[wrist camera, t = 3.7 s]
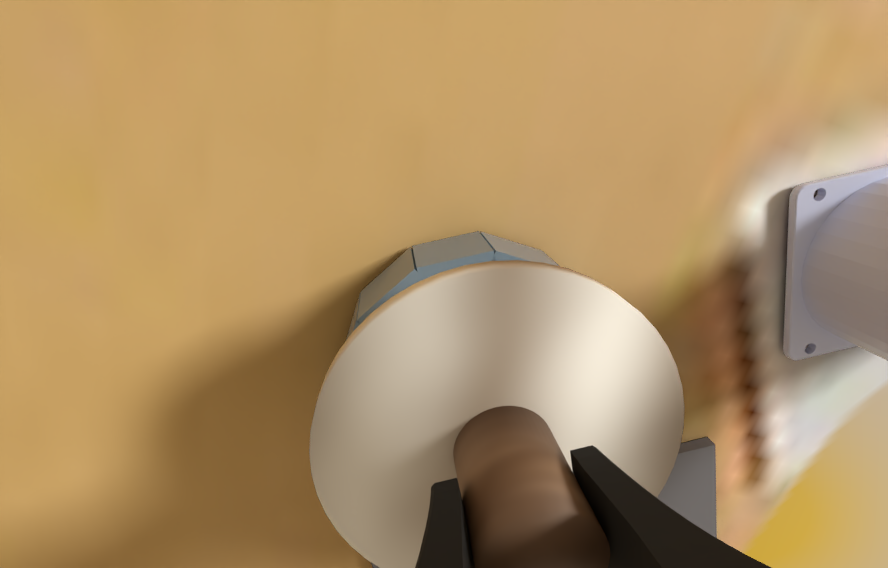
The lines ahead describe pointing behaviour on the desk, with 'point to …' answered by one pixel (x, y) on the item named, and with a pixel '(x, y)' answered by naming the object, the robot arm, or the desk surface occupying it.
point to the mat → (692, 485)
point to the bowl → (438, 266)
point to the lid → (493, 414)
